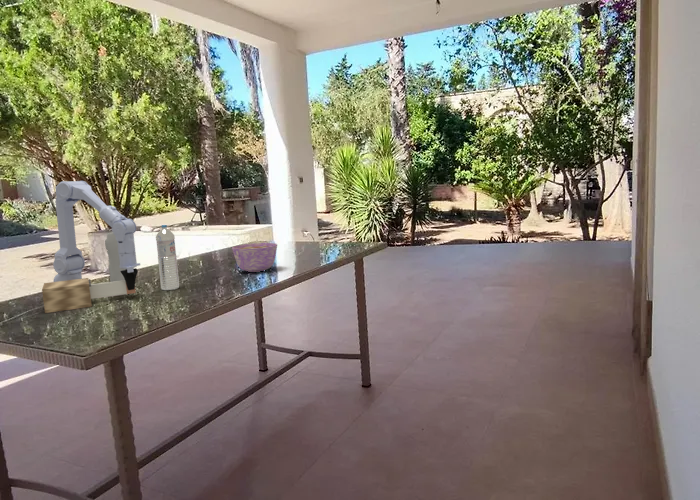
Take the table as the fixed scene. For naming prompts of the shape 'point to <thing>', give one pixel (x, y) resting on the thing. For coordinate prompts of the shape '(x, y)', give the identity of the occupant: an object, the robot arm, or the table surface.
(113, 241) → the tall pale column
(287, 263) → the table surface
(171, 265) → the water bottle
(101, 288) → the ticket
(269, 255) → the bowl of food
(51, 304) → the ticket box
